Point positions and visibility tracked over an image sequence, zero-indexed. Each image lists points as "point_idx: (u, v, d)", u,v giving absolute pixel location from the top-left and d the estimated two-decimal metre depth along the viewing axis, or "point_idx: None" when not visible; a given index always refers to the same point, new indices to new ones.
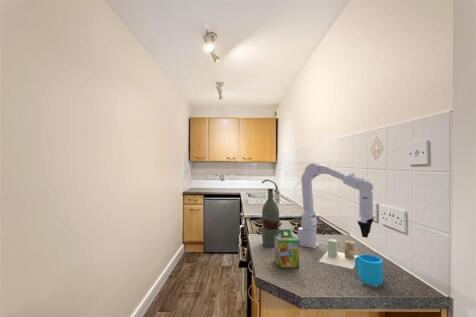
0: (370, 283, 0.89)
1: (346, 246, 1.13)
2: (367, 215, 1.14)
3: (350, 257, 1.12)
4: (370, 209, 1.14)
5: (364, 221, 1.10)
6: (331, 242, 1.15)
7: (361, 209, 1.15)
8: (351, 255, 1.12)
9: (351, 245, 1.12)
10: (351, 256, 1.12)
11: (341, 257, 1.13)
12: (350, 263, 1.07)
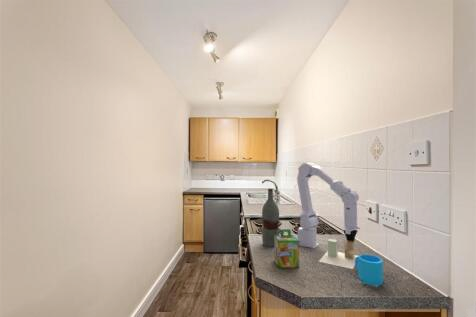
0: (370, 283, 0.89)
1: (346, 246, 1.13)
2: (351, 226, 1.14)
3: (350, 257, 1.12)
4: (354, 220, 1.14)
5: (348, 232, 1.10)
6: (331, 242, 1.15)
7: (345, 220, 1.15)
8: (351, 255, 1.12)
9: (351, 245, 1.12)
10: (351, 256, 1.12)
11: (341, 257, 1.13)
12: (350, 263, 1.07)
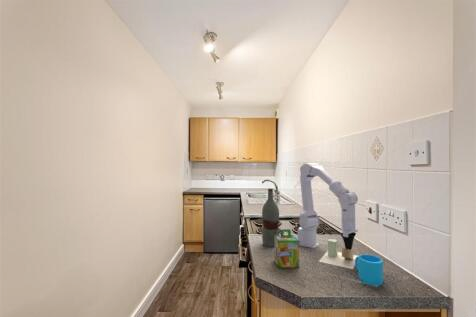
0: (370, 283, 0.89)
1: (344, 257, 1.09)
2: (349, 228, 1.09)
3: (350, 258, 1.11)
4: (352, 222, 1.09)
5: (345, 235, 1.05)
6: (331, 242, 1.15)
7: (343, 222, 1.11)
8: (350, 258, 1.10)
9: (349, 258, 1.07)
10: (351, 258, 1.11)
11: (341, 257, 1.13)
12: (350, 263, 1.07)
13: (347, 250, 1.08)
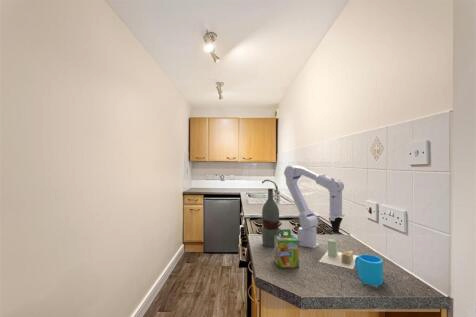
0: (370, 283, 0.89)
1: None
2: (336, 213, 1.18)
3: None
4: (339, 208, 1.18)
5: (332, 219, 1.15)
6: (331, 242, 1.15)
7: (331, 208, 1.20)
8: None
9: None
10: None
11: None
12: None
13: (346, 256, 1.06)
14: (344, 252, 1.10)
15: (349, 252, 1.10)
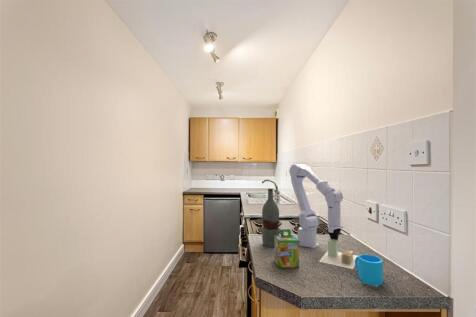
0: (370, 283, 0.89)
1: None
2: (334, 225, 1.16)
3: None
4: (337, 219, 1.16)
5: (331, 231, 1.13)
6: (331, 242, 1.15)
7: (329, 219, 1.18)
8: None
9: None
10: None
11: None
12: None
13: (346, 256, 1.06)
14: (344, 252, 1.10)
15: (349, 252, 1.10)
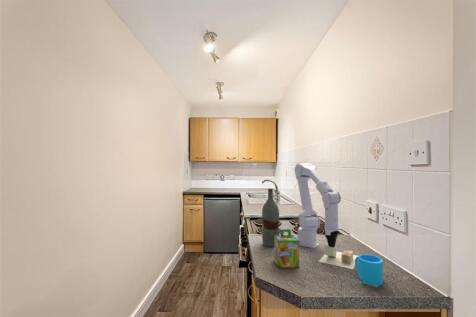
0: (370, 283, 0.89)
1: None
2: (332, 227, 1.11)
3: None
4: (335, 221, 1.12)
5: (328, 233, 1.08)
6: (328, 255, 1.10)
7: (326, 221, 1.13)
8: None
9: None
10: None
11: None
12: None
13: (346, 256, 1.06)
14: (344, 252, 1.10)
15: (349, 252, 1.10)
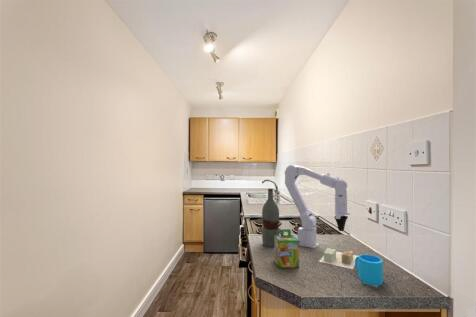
0: (370, 283, 0.89)
1: None
2: (341, 212, 1.21)
3: None
4: (344, 206, 1.21)
5: (338, 217, 1.18)
6: None
7: (336, 206, 1.23)
8: None
9: None
10: None
11: None
12: None
13: (346, 256, 1.06)
14: (344, 252, 1.10)
15: (349, 252, 1.10)
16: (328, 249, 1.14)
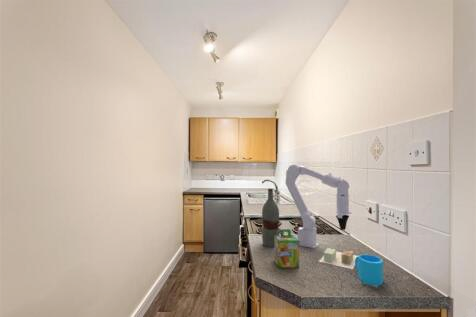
0: (370, 283, 0.89)
1: None
2: (343, 211, 1.23)
3: None
4: (346, 205, 1.23)
5: (340, 216, 1.20)
6: None
7: (338, 205, 1.25)
8: None
9: None
10: None
11: None
12: None
13: (346, 256, 1.06)
14: (344, 252, 1.10)
15: (349, 252, 1.10)
16: (328, 249, 1.14)
